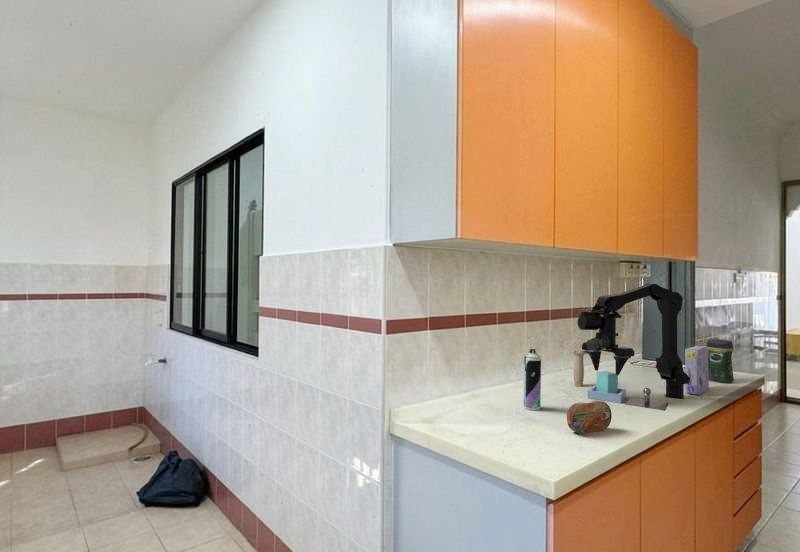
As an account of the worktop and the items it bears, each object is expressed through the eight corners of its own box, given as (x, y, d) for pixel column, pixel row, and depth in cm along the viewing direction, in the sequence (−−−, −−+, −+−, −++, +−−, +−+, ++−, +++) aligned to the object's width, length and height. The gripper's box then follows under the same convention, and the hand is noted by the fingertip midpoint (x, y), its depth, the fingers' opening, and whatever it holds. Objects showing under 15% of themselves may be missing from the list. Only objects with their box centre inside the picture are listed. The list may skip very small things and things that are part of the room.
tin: (572, 435, 126) (573, 405, 126) (564, 432, 129) (564, 402, 129) (612, 429, 132) (612, 400, 132) (603, 426, 135) (604, 398, 135)
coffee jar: (736, 382, 201) (736, 340, 201) (727, 384, 196) (728, 341, 197) (712, 378, 209) (712, 337, 209) (703, 379, 205) (703, 338, 205)
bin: (594, 394, 174) (594, 385, 174) (625, 398, 168) (626, 389, 168) (587, 400, 165) (587, 390, 165) (620, 405, 159) (620, 395, 159)
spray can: (531, 411, 149) (532, 350, 150) (520, 407, 154) (520, 348, 154) (543, 409, 152) (544, 349, 152) (532, 405, 157) (532, 347, 157)
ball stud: (630, 399, 167) (630, 382, 167) (668, 404, 160) (668, 387, 161) (625, 406, 158) (625, 388, 158) (665, 412, 151) (665, 393, 151)
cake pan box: (696, 386, 191) (696, 344, 191) (710, 388, 188) (710, 345, 188) (684, 393, 178) (684, 348, 178) (699, 396, 174) (699, 350, 174)
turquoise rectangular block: (606, 395, 170) (606, 371, 170) (617, 398, 165) (617, 373, 165) (596, 396, 168) (596, 371, 168) (607, 399, 163) (607, 374, 163)
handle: (581, 388, 184) (582, 351, 185) (568, 384, 190) (568, 348, 190) (589, 386, 187) (589, 350, 187) (575, 383, 192) (575, 348, 193)
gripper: (571, 328, 172) (570, 369, 172) (613, 333, 155) (612, 379, 155) (592, 327, 177) (592, 367, 176) (635, 332, 160) (635, 377, 159)
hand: (606, 372), depth 167 cm, fingers open, 9 cm apart
